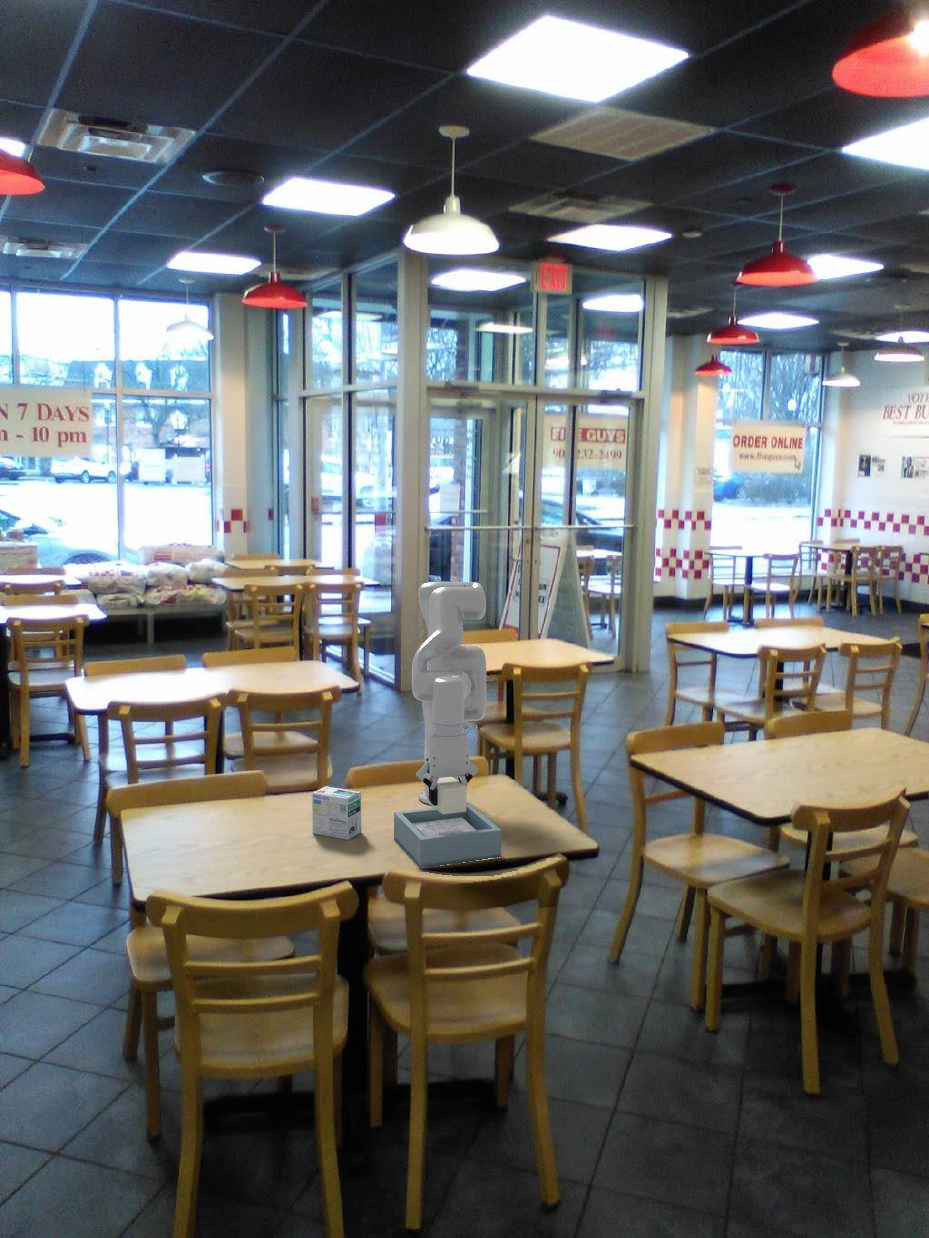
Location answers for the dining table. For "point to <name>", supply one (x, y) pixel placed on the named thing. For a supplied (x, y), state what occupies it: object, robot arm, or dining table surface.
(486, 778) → the dining table surface
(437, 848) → the tray
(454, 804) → the white rectangular block
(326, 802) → the light bulb box
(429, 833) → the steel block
